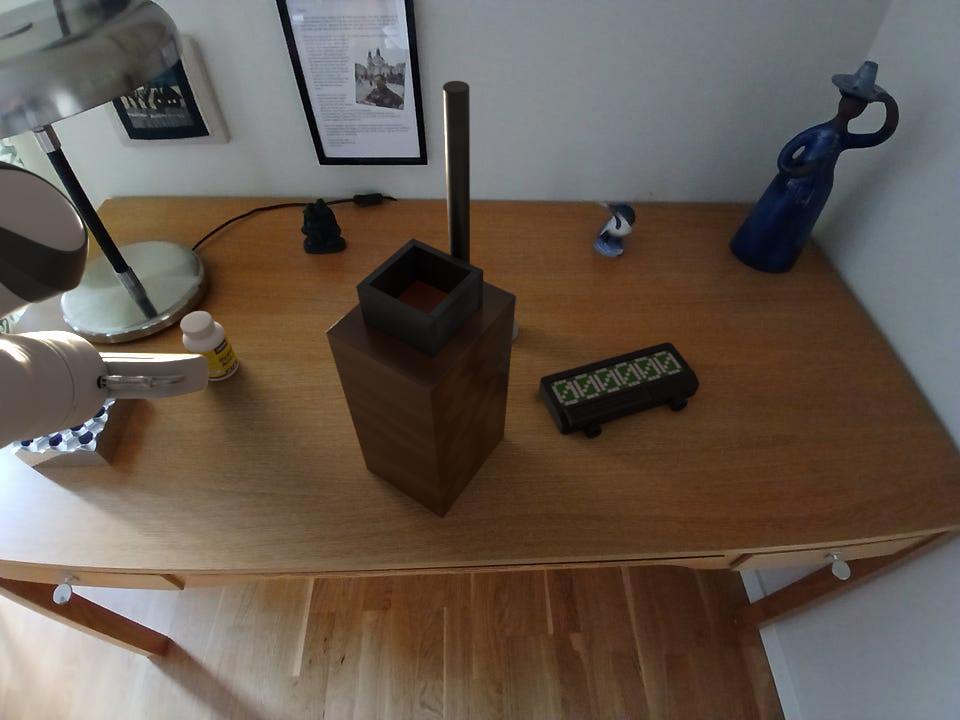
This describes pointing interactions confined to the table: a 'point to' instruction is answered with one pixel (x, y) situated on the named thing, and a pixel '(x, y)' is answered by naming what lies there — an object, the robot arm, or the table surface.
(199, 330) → the supplement bottle
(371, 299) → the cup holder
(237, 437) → the table surface
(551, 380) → the digital display
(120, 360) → the robot arm
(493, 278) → the table surface
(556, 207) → the table surface
